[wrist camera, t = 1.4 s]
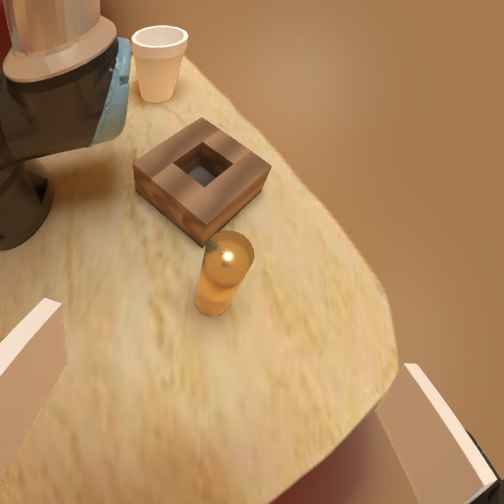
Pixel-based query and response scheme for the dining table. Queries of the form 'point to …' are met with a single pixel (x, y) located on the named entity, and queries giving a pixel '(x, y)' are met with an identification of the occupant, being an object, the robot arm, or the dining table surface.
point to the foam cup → (158, 60)
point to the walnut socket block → (200, 179)
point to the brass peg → (222, 271)
